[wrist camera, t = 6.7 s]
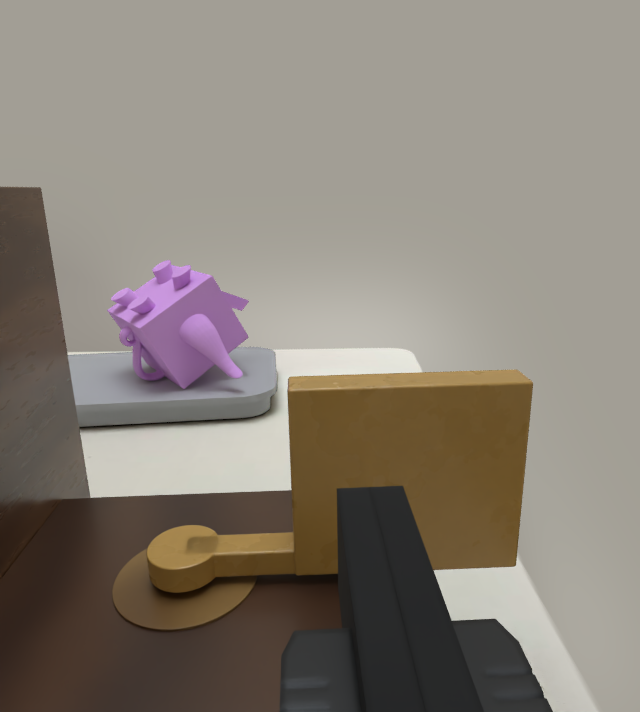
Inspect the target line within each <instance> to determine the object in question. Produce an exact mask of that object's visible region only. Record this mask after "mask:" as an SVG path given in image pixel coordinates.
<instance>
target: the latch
mask: <svg viewBox="0 0 640 712" xmlns="http://www.w3.org/2000/svg"><path fill="white" fill-rule="evenodd" d="M532 388H533V382H532V381H531V380H530V379H528V378H527V377H526V376H525V375H523V374H522V373H521V372H520V371H518V370H489V371H456V372H424V373H393V374H361V375H329V376H298V377H289V379H288V414H289V439H290V463H291V488H292V512H293V532H288V533H262V534H237V535H217V533H216V532H215V531H213V530H212V529H210V528H208V527H204V526H199V525H186V526H180V527H176V528H172V529H170V530H167V531H165V532H163V533H161V534H160V535H158V536H157V537H156V538H155V539H153V541H152V542H151V543H150V544H149V546H148V549H147V553H146V555H147V562H148V570H149V578H150V580H151V582H152V584H153V585H154V586H155V587H157V588H158V589H160V590H163V591H166V592H173V593H180V592H188V591H192V590H195V589H198V588H200V587H203V586H204V585H206V584H208V583H209V582H211V581H212V580H213V579H214V578H215V577H230V576H254V575H278V574H296V575H298V576H299V575H323V574H338V540H337V488H358V487H383V486H403V488H404V490H405V493H406V496H407V499H408V501H409V504H410V507H411V510H412V513H413V515H414V518H415V521H416V524H417V526H418V529H419V532H420V535H421V538H422V540H423V543H424V546H425V549H426V551H427V554H428V557H429V560H430V563H431V565H432V568H433V570H443V569H467V568H491V567H514V566H516V558H517V547H518V536H519V527H520V516H521V505H522V494H523V484H524V474H525V463H526V453H527V442H528V431H529V421H530V411H531V399H532Z"/></svg>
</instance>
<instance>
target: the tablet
mask: <svg viewBox="0 0 640 712" xmlns="http://www.w3.org/2000/svg"><path fill="white" fill-rule="evenodd" d="M228 355H229V357H230V358H231V360H232V361H233V362H234V364H235V365H236V366H237V367H238V368H239V369H240V370H241V371H242V373H243V375H242V376H241V377H240V378H237V379H236V378H232V377H230V376H228V375H227V374H226V373H225V372H223V371H222V370H221V369H220V368H219V367H218V366H217V365H214V366H213V367H211V368H210V369H209V370H208V371H206V372H205V373H204V374H202V375H201V376H200V377H199V378H197V379H196V380H195V381H194V382H192V383H191V384H190V385H189V386H187V387H186V388H185V389H183V388H181V387H180V386H178V385H177V384H175V383H174V382H172V381H171V380H169V379H168V378H166V377H165V376H164V377H163V378H161V379H159V380H155V381H148V380H144V379H142V378H140V377H139V376H138V375H137V374H136V373H135V371H134V368H133V359H132V356H133V352H124V353H101V354H79V355H68V361H69V367H70V373H71V380H72V386H73V392H74V398H75V405H76V411H77V417H78V423H79V427H84V426H102V425H121V424H139V423H157V422H176V421H194V420H213V419H231V418H246V417H253V416H257V415H260V414H262V413H264V412H266V411H268V410H269V408H270V397H271V396H272V395H274V394H275V393H276V391H277V381H276V357H275V352H274V351H273V350H271V349H267V348H261V347H238V348H235V349H234V350H232V351H231V352H230V353H229V354H228ZM141 364H142V369H143V371H144V372H145V373H154V372H156V370H155V369H154V368H152V367H151V366H149V365H148V364H147V363H146V362H145V360H144V359H143V358H142V356H141Z"/></svg>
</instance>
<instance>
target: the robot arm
mask: <svg viewBox="0 0 640 712" xmlns="http://www.w3.org/2000/svg"><path fill="white" fill-rule="evenodd" d="M337 540H338V592H339V602H340V611H341V621H342V628H336V629H316V630H295V631H294V632H293V634H292V636H291V638H290V639H289V641H288V643H287V645H286V647H285V649H284V651H283V653H282V655H281V679H280V712H553V711H552V709H551V707H550V705H549V703H548V701H547V699H545V698H544V695H543V691H542V689H541V687H540V685H539V683H538V681H537V679H536V677H535V675H533V673H532V668H531V666H530V664H529V662H528V660H527V658H526V656H525V654H524V652H523V650H522V648H521V646H520V644H519V642H518V641H517V640H516V639H515V638H514V637H513V636H512V635H511V634H510V633H509V632H508V631H507V630H506V629H505V628H504V627H503V626H502V625H501V624H500V623H499V622H498V621H497V620H496V619H481V620H461V621H451V618H450V615H449V613H448V610H447V607H446V604H445V601H444V599H443V596H442V593H441V590H440V588H439V585H438V582H437V579H436V576H435V574H434V571H433V568H432V565H431V563H430V560H429V557H428V554H427V551H426V549H425V546H424V543H423V540H422V538H421V535H420V532H419V529H418V526H417V524H416V521H415V518H414V515H413V513H412V510H411V507H410V504H409V501H408V499H407V496H406V493H405V490H404V488H403V486H383V487H358V488H337Z"/></svg>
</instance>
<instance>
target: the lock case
mask: <svg viewBox="0 0 640 712" xmlns="http://www.w3.org/2000/svg"><path fill="white" fill-rule="evenodd" d="M186 525H199V526H204V527H208V528H210V529H212V530H213V531H215V532H216V533H217V535H237V534H262V533H288V532H293V512H292V490H288V491H262V492H235V493H208V494H181V495H155V496H128V497H101V498H90V492H89V486H88V480H87V474H86V467H85V461H84V455H83V449H82V442H81V436H80V430H79V423H78V417H77V411H76V405H75V398H74V392H73V386H72V380H71V373H70V367H69V361H68V355H67V348H66V343H65V336H64V330H63V323H62V318H61V311H60V304H59V299H58V292H57V286H56V279H55V273H54V267H53V261H52V255H51V248H50V242H49V235H48V229H47V223H46V217H45V210H44V204H43V198H42V192H41V188H40V187H0V712H280V679H281V655H282V653H283V651H284V649H285V647H286V645H287V643H288V641H289V639H290V638H291V636H292V634H293V632H294V631H295V630H316V629H336V628H342V621H341V611H340V602H339V592H338V574H323V575H299V576H298V575H296V574H278V575H254V576H230V577H215V578H214V579H213V580H212V581H211V582H209V583H208V584H206V585H204V586H203V587H200V588H198V589H195V590H192V591H188V592H180V593H173V592H166V591H163V590H160V589H158V588H157V587H155V586H154V585H153V584H152V582H151V580H150V578H149V570H148V562H147V555H146V553H147V549H148V546H149V544H150V543H151V542H152V541H153V539H155V538H156V537H157V536H158V535H160V534H161V533H163V532H165V531H167V530H170V529H172V528H176V527H180V526H186Z"/></svg>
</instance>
